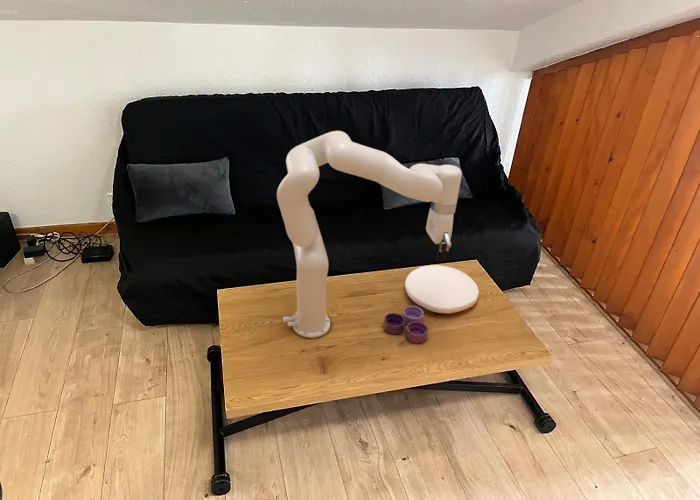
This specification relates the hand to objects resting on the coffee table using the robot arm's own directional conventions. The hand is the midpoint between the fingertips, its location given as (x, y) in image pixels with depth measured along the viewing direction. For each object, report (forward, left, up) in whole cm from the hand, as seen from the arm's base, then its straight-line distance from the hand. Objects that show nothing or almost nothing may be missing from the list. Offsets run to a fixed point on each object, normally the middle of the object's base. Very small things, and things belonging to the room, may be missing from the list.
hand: (435, 252), depth 159 cm
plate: (+10, +10, -26) cm, 30 cm away
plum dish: (-7, -10, -26) cm, 29 cm away
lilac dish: (-6, -2, -26) cm, 27 cm away
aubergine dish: (-13, -5, -26) cm, 30 cm away
